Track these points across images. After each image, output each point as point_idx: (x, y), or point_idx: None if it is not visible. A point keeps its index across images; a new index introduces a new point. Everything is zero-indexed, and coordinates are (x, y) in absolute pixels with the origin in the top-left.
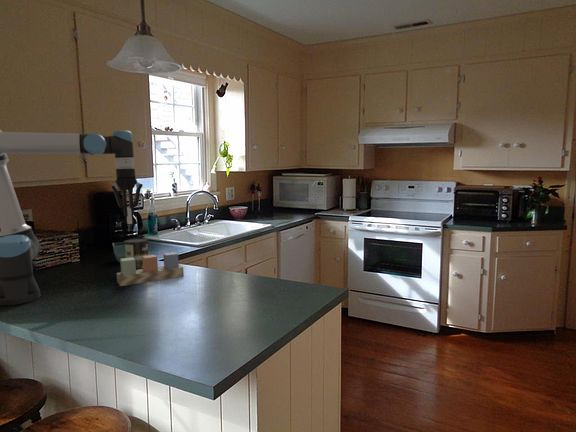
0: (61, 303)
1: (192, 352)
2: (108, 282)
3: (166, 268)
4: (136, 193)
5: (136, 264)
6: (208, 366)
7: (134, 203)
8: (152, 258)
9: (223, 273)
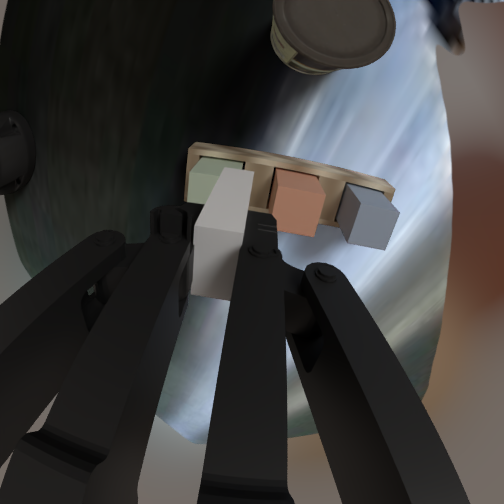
0: (69, 232)
1: (199, 427)
2: (175, 125)
3: (339, 211)
4: (347, 475)
5: (296, 66)
6: (200, 437)
7: (312, 299)
8: (295, 231)
9: (434, 269)
